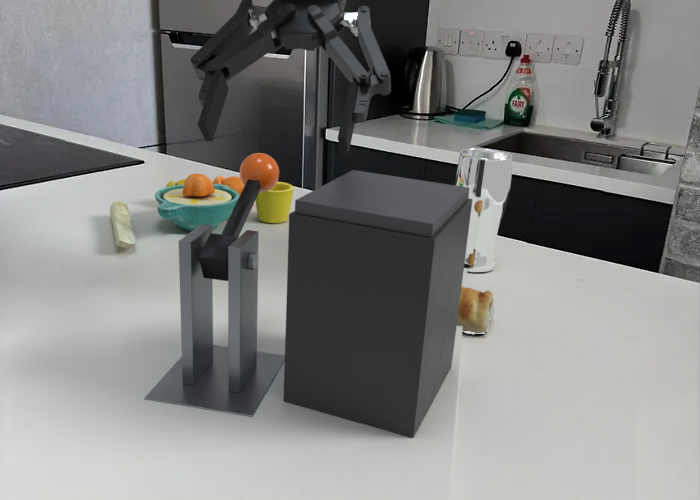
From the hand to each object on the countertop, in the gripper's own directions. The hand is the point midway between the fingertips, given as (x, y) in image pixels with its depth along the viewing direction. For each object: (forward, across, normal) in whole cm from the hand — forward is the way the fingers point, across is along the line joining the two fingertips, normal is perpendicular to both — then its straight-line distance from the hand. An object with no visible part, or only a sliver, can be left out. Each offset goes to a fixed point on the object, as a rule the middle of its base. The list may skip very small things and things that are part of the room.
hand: (272, 140), depth 65 cm
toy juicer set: (-6, +21, -34) cm, 40 cm away
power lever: (+10, 0, +1) cm, 10 cm away
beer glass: (-3, -21, -30) cm, 37 cm away
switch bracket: (+23, 0, -4) cm, 23 cm away
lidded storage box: (+21, -13, -6) cm, 25 cm away
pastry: (+9, -19, -18) cm, 28 cm away
